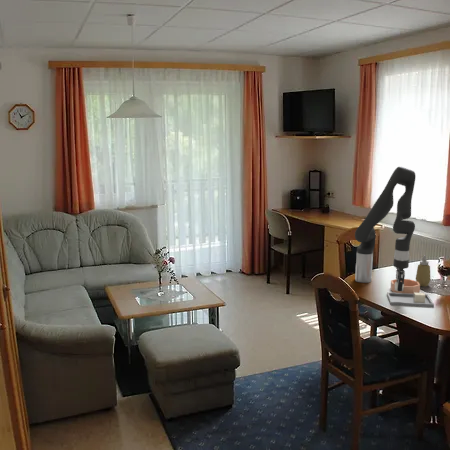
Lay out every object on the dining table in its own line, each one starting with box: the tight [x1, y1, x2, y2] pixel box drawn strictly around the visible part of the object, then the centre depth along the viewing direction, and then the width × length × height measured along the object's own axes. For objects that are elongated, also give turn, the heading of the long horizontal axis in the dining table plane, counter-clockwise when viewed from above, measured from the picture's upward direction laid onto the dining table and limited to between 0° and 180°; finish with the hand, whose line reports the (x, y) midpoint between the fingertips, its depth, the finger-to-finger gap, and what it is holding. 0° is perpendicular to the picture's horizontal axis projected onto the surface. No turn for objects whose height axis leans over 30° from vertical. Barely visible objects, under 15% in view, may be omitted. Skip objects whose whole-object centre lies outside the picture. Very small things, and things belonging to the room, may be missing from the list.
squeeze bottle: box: [415, 254, 431, 287], centre depth 293 cm, size 8×8×18 cm
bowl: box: [390, 278, 421, 294], centre depth 284 cm, size 15×15×5 cm
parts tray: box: [386, 291, 435, 308], centre depth 267 cm, size 21×16×2 cm
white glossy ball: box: [395, 281, 404, 291], centre depth 266 cm, size 4×4×4 cm
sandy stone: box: [413, 292, 426, 303], centre depth 266 cm, size 5×4×4 cm
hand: (399, 289), depth 267 cm, fingers closed on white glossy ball, 4 cm apart
